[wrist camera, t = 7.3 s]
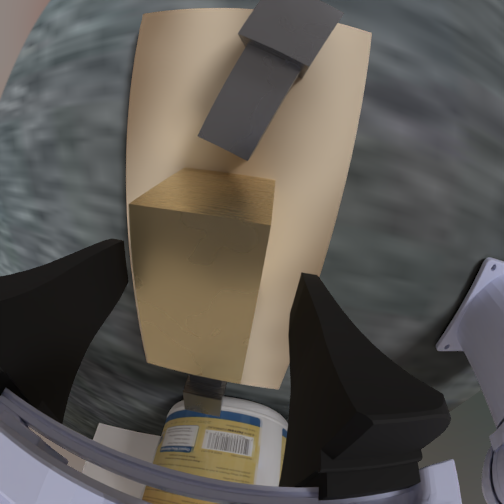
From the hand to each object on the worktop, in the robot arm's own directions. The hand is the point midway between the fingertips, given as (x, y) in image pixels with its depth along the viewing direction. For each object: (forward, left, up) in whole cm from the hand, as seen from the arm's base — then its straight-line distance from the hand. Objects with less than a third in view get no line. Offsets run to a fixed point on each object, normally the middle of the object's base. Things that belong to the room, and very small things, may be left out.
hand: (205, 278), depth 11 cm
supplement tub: (-2, +20, -4) cm, 21 cm away
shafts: (-1, 0, -3) cm, 3 cm away
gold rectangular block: (0, 0, -3) cm, 3 cm away
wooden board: (0, 0, -4) cm, 4 cm away
